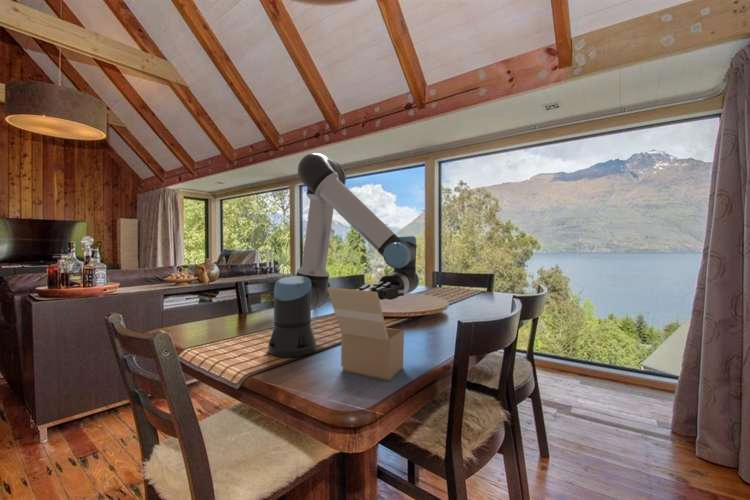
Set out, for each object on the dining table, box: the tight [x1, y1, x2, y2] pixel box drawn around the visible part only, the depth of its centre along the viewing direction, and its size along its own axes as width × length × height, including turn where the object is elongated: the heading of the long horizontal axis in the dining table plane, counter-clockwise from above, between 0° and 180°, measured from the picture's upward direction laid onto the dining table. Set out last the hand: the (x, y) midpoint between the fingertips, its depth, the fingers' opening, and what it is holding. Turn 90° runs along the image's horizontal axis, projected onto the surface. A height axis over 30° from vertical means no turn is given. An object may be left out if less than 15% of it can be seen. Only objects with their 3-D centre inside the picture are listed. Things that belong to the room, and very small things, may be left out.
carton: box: [340, 327, 405, 382], centre depth 96 cm, size 15×10×11 cm
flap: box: [327, 286, 389, 341], centre depth 87 cm, size 14×15×1 cm
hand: (357, 298), depth 86 cm, fingers closed
